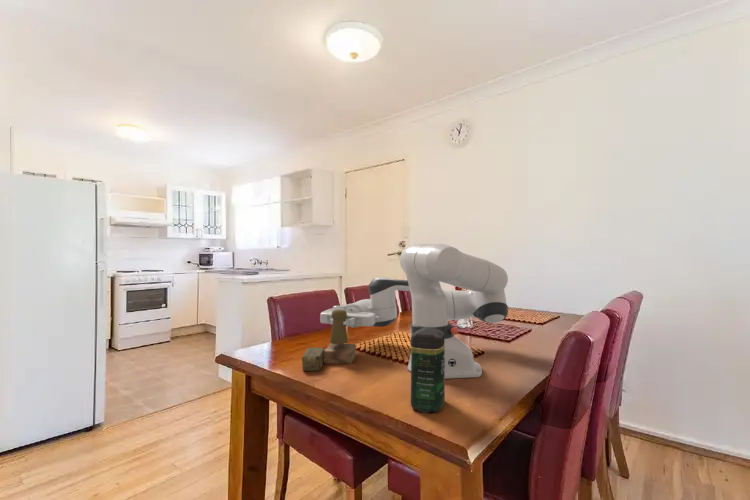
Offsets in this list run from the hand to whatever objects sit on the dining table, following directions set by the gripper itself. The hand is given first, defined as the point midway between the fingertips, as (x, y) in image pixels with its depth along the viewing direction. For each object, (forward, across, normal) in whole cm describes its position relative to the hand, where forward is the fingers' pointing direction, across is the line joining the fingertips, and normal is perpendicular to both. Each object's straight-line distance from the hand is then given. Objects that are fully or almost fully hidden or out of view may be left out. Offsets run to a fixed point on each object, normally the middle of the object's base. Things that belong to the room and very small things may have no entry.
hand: (338, 322), depth 126 cm
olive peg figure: (0, 0, -7) cm, 7 cm away
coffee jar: (+25, -36, -13) cm, 46 cm away
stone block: (+8, +5, -13) cm, 16 cm away
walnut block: (-1, 0, -13) cm, 13 cm away
